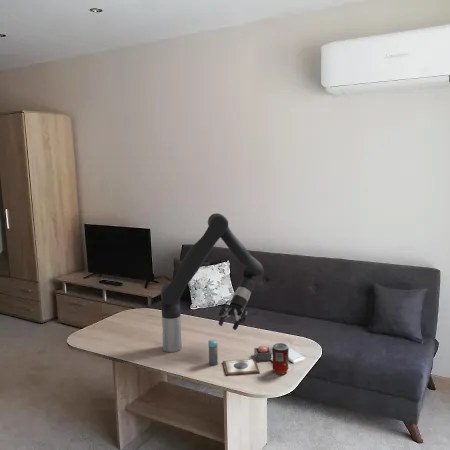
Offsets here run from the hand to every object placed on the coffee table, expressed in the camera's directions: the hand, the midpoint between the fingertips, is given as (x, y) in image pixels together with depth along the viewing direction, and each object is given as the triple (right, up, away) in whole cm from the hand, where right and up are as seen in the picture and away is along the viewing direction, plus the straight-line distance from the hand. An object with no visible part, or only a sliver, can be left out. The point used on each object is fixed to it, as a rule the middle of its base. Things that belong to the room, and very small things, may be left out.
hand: (226, 327), depth 214 cm
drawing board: (+6, -16, -11) cm, 20 cm away
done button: (+17, -12, -1) cm, 21 cm away
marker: (-6, -16, -6) cm, 18 cm away
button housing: (+17, -14, -1) cm, 22 cm away
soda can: (+24, -17, -15) cm, 33 cm away
